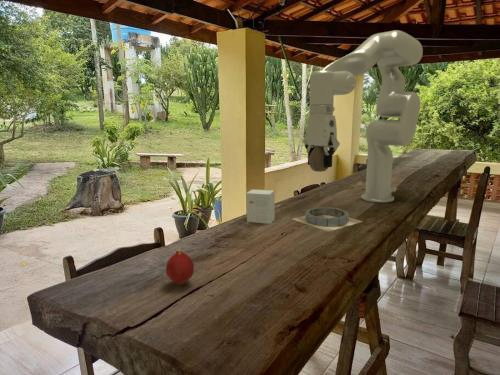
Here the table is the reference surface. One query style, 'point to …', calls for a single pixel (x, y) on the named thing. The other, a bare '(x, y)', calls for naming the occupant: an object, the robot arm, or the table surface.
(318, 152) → the vase
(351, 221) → the birch board
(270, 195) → the small box
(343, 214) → the ring collar
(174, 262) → the onion
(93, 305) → the table surface
